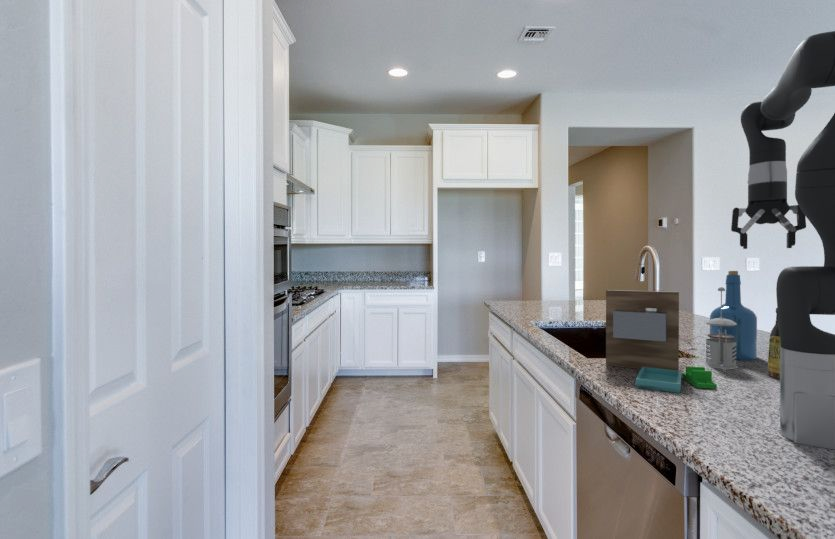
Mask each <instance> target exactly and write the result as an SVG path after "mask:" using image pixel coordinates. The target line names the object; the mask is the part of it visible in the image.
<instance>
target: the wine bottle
mask: <svg viewBox="0 0 835 539" xmlns="http://www.w3.org/2000/svg"><path fill="white" fill-rule="evenodd" d="M727 273H728V274H727V275H726V277H725V283H724V284H725V300H724V301H725V303H722V318H724V319H729V320H731V321H733V322H735V323H736V324H737V325H735V326H722V333H725V329H726V335H732V336H734V337H735V338H734V339H727V340H732V341H736V346H735V347H733V348H732V349H735V348H736V351H734V352H732V353H735V352H736V355H734V356H732V357H735V356H736V359H734V360H733V361H735V360H736V361H753V360H752V359H754V360H757V357H758V317H757V315H756V313H755V312H754V311H753V310H752V309H750V308H748V307H746V306H744V305H743V304H742V295H741V294H742V293H741V285H742V282H741V274H739V272H738V270H729V271H728V272H727ZM720 317H721V305H720V306H718V307H716V308H714V309H713V310H712V312H710V315H709V320H711V319H714V318H720ZM718 329H719V330H720V333H721V326H715V325H709V334H719V332H718ZM722 335H724V334H722ZM709 339H717V338H711V337H709ZM709 347H710V348H711V346H709ZM709 351H711V350H709Z"/></svg>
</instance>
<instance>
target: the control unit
mask: <svg viewBox="0 0 835 539" xmlns="http://www.w3.org/2000/svg"><path fill="white" fill-rule="evenodd" d="M613 337H614V338H627V339H639V340H652V341H664V342H666V340H667V312H658V311H657V308H645V311H637V310H614V311H613Z"/></svg>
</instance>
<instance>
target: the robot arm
mask: <svg viewBox="0 0 835 539" xmlns="http://www.w3.org/2000/svg"><path fill="white" fill-rule="evenodd" d="M829 87H835V30H833V31H832V30H831V31H826V32H821V33H817V34H813V35H810V36H808V37H805V39H804V40H802V41H801V42H800V44H798V46H797V47H796V48H795V50H794V52H793V54H792V55H791V56H790V59H789V60H788V62H787V64H786V66H785V67H784V70H783V72H782V74H781V76H780V78H779V80H778V82H777V84H776V85H775V86H774V87H773V88H772V89H771V91H769V93H768V94H766V95H765V97H764V98H763V99H762V101H755V102H750V103H749V104H747V105H746V106H745V107H744V108H743V109H742V111H741V113H740V114H741V115H740V125H741V128H742V130H743V133H744V135H745V137H746V141H747V144H748V150H749V153H748V154H749V163H748V165H749V167H748V168H749V169H748V175H747V206H746V207H745V208H743V207H742V208H739V207H734V208H733V209H732V214H731V215H732V216H731V227H730V230H731V232H733V233H737V234H739V246H740V247H743V248H742V249H743V250H747V249H748V233H747V232H748V231H749V230H750V229H751V227H753V225H755V224H757V225H765V224H768V225H769V224H770V225H772V224H774V225H775V224H777V223H779V224H780V225H781V226H782V227H783V228H784V229H785V230H786V231H787V233H786V249H793V247H794V246H795V245H796V233H797V232H798V231H802V230H804V229H806V228H807V223H806V222H807V221H806V220H808V221H809V222H810V224H811V225H812V226H813V227H814V229H815V230H816V232H817V234H818V236H819V238H820V241H821V243H822V247H823V258H824V259H823V260H824V261H823V262H824V263H823V266H822V265H821V266H814V265H811V266H810V265H809V266H808V265H805V266H802V265H801V266H787V267H785V268H784V269H782V270H781V271H780V272H779V274H778V277H777V280H776V287H775V288H776V290H775V291H776V293H775V294H776V306H777V307H776V308H777V309H778V330H779V335H780V346H781V347H780V379H779V433H780V435H781V436H782V437H784V438H786V439H788V440H790V441H792V442H794V444H798V445H804V446H810V447H817V448H823V449H824V448H825V449H828V450H834V451H835V334H834V333H831V332H828V331H824V330H822V329H820V328H818V327H817V326H815V325H813V323H812V321H811V320H812V319H811V316H810V315H818V316H819V315H822V316H823V315H825V316H826V315H827V316H830V315H831V316H835V112H834V114H833V115H832V117H831V118H830V120H829V121H828V122H827V124H826V125H825V127H823V129H821V131H820V132H819V133H818V135H817V136H816V137H815V138H814V139H813V140H812V141H811V143H809V145H808V146H807V148H805V151H804V152H803V153H802V155H801V156H800V158H799V160H798V162H797V166H796V175H795V186H794V189H795V190H794V197H795V200H796V203H797V204H793V205H789V204H788V203H789V202H788V170H787V152H786V151H787V145H786V144H787V143H786V141H785V139H783V138H779V137H772V136H771V137H770V136H768V135H767V136H766V135H765V134H764V133H763V132H765V131H776V130H781V129H785V128H787V127H788V128H789V127H790V126H791V125H792V124H793V123H794V121H795V117H796V113H797V112H798V111H799V110H800V109H801V108H803V107H804V106H805V105H806V104H807V103H808V101H809V99H810V98H811V95H812V93H813V92H812V91H813V90H812V89H819V88H829ZM789 211H791V212H792V214H794V215H796V225H795V226H794V225H793V224H792V223H791V221H790V220H789V219H788V218H786V214H788V212H789ZM744 213H745V214H746V215H747V216H748V217H749V218H750V219H749V220H748V221H747V222H746V224H745V225H743V227H739V218H741V217H742V216H743V214H744ZM806 218H807V219H806Z"/></svg>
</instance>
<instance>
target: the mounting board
mask: <svg viewBox="0 0 835 539" xmlns="http://www.w3.org/2000/svg"><path fill="white" fill-rule="evenodd" d="M645 308H657V311H658V312H667V340H666V342H664V341H652V340H639V339H627V338H614V337H613V311H614V310H637V311H645ZM679 319H680V291H664V290H662V291H661V290H658V291H656V290H621V289H620V290H619V289H618V290H616V289H607V290H605V366H611V367H620V368H629V369H637V370H639V369H640V370H641V368H642V367H649V368H658V369H667V370H676V371H680V369H679V368H680V363H679V362H680V355H679V354H680V348H679V347H680V320H679Z"/></svg>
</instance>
